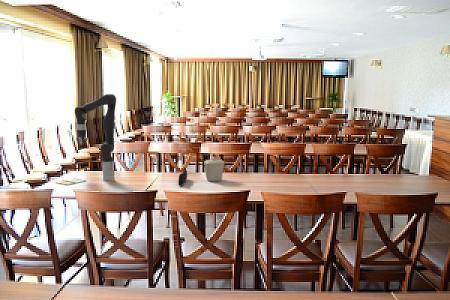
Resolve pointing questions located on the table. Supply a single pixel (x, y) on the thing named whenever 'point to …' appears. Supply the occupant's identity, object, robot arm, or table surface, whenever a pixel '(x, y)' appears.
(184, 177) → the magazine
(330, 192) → the table surface
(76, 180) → the sage plank
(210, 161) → the canister
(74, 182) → the ash board
